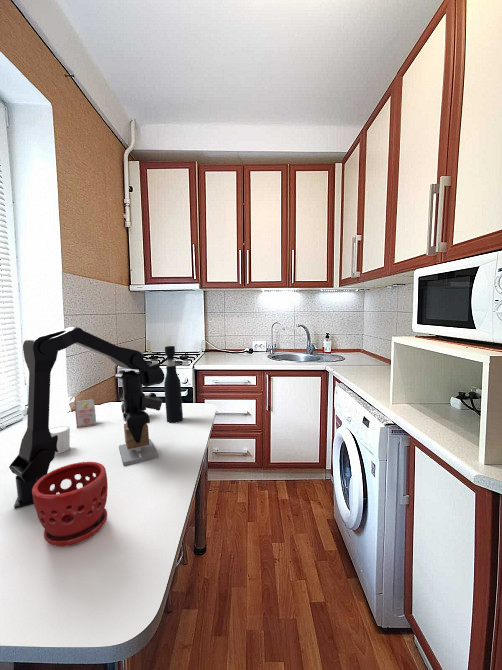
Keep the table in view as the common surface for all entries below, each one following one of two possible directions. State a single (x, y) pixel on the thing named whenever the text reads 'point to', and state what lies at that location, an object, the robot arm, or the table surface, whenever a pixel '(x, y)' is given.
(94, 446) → the table surface
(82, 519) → the plant pot
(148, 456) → the switch plate
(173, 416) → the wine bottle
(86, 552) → the table surface
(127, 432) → the hollow wooden cube
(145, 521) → the table surface
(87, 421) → the small printed carton
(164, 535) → the table surface
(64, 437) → the white cylinder
